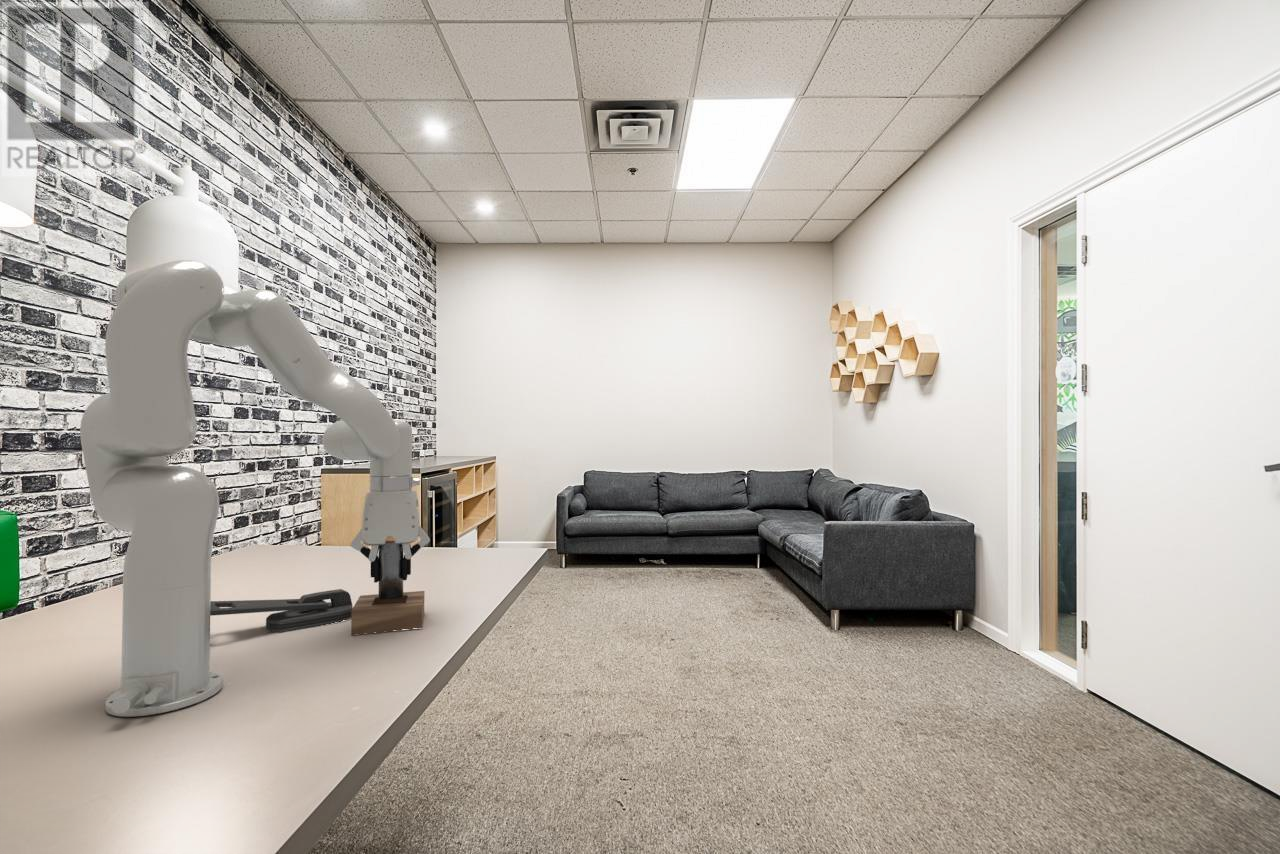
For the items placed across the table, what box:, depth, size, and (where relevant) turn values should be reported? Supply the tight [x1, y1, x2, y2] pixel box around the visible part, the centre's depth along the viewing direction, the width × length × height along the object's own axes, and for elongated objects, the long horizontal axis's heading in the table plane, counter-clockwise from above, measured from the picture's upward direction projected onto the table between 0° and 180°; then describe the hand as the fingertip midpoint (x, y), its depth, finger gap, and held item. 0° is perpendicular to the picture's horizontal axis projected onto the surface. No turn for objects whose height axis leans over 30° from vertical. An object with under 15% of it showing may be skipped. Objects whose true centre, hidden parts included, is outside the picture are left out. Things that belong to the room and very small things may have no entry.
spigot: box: [378, 536, 404, 600], centre depth 116 cm, size 5×5×12 cm
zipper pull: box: [210, 588, 354, 634], centre depth 113 cm, size 9×7×25 cm
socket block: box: [350, 590, 425, 636], centre depth 115 cm, size 11×12×4 cm
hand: (391, 578), depth 115 cm, fingers closed on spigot, 4 cm apart
